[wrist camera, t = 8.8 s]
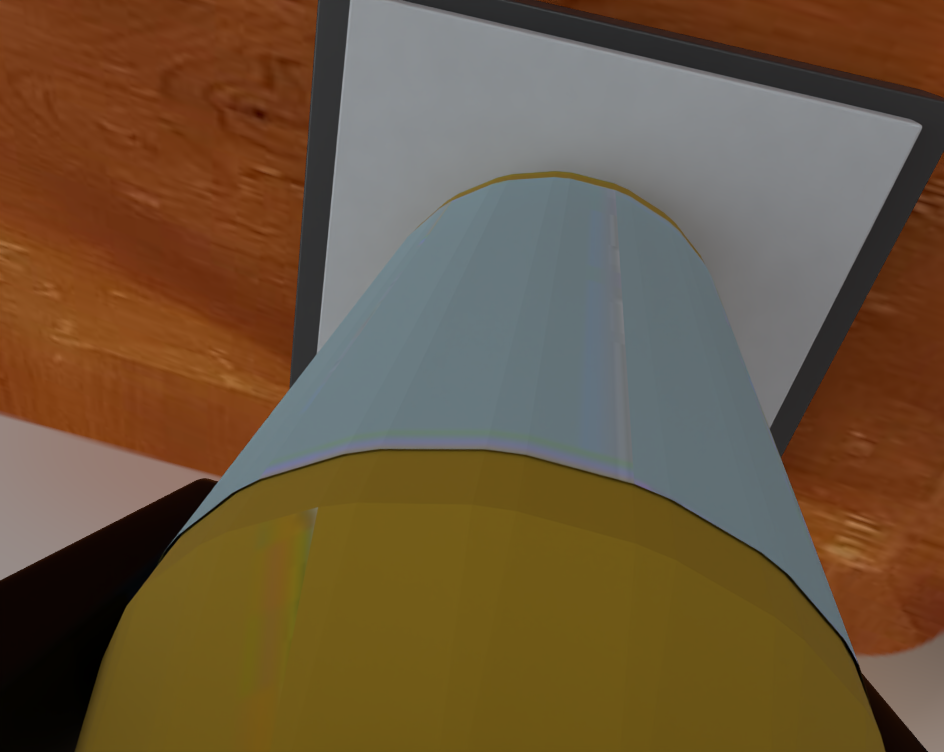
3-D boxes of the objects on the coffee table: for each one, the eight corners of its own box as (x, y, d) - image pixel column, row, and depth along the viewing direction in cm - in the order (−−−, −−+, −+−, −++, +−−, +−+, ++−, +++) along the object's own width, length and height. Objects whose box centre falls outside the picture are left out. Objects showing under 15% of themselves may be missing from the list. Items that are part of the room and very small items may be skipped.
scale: (722, 499, 20) (737, 565, 18) (312, 393, 20) (276, 445, 18) (925, 90, 14) (984, 113, 12) (353, -43, 15) (308, -45, 13)
